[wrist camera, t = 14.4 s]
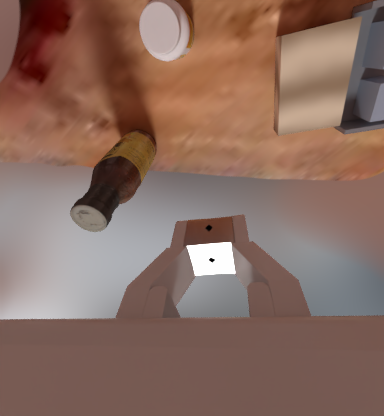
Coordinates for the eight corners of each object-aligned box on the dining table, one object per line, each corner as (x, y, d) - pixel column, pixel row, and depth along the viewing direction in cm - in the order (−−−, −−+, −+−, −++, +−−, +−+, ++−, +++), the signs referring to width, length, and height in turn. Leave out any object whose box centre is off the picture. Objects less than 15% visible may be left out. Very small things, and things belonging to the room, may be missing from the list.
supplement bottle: (172, -6, 26) (153, -29, 18) (202, 33, 28) (198, 27, 20) (146, 35, 29) (121, 30, 21) (176, 68, 30) (163, 75, 23)
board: (275, 37, 27) (281, 35, 25) (348, 18, 26) (362, 15, 23) (273, 129, 34) (278, 135, 32) (331, 120, 33) (340, 125, 30)
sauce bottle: (128, 121, 36) (60, 180, 20) (162, 138, 37) (124, 206, 21) (119, 154, 39) (55, 225, 24) (150, 168, 41) (110, 245, 25)
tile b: (380, 83, 25) (404, 79, 25) (360, 79, 29) (381, 75, 29) (369, 122, 28) (391, 118, 28) (352, 113, 32) (371, 110, 31)
